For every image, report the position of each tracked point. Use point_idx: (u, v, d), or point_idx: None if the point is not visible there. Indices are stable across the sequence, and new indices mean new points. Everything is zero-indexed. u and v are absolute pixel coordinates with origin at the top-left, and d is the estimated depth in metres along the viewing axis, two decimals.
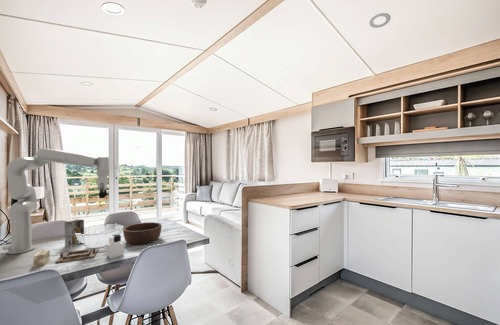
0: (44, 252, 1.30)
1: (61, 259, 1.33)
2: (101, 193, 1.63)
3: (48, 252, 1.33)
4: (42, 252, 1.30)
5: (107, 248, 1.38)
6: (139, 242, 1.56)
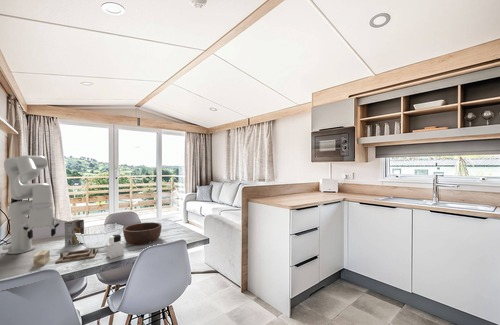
0: (44, 252, 1.30)
1: (61, 259, 1.33)
2: (55, 229, 1.32)
3: (48, 252, 1.33)
4: (42, 252, 1.30)
5: (107, 248, 1.38)
6: (139, 242, 1.56)
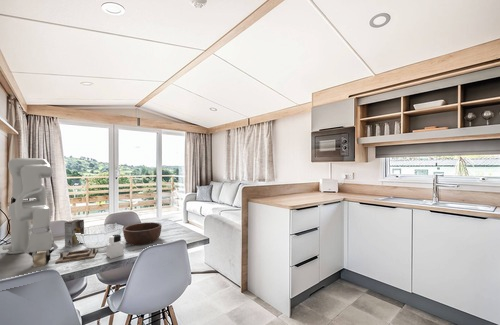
0: (44, 252, 1.30)
1: (61, 259, 1.33)
2: (49, 255, 1.31)
3: None
4: (42, 252, 1.30)
5: (107, 248, 1.38)
6: (139, 242, 1.56)
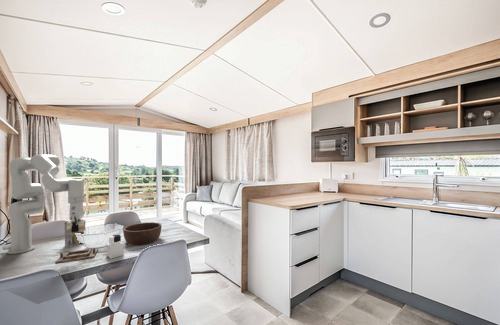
0: None
1: (61, 259, 1.33)
2: None
3: None
4: None
5: (107, 248, 1.38)
6: (139, 242, 1.56)
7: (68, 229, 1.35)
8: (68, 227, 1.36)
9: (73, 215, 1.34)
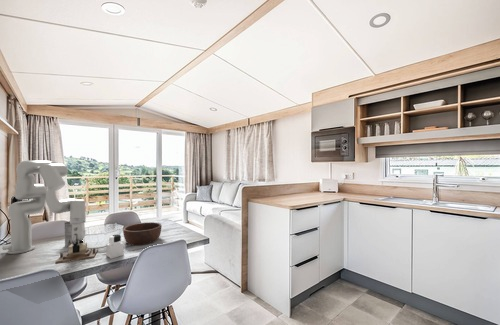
0: None
1: (61, 259, 1.33)
2: None
3: None
4: None
5: (107, 248, 1.38)
6: (139, 242, 1.56)
7: (70, 253, 1.36)
8: (70, 251, 1.36)
9: None
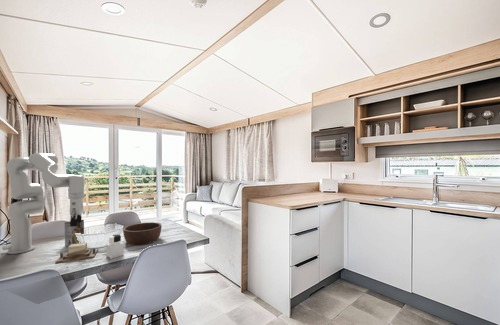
0: (78, 244, 1.41)
1: (61, 259, 1.33)
2: None
3: None
4: (77, 244, 1.39)
5: (107, 248, 1.38)
6: (139, 242, 1.56)
7: (70, 253, 1.36)
8: (70, 251, 1.36)
9: None
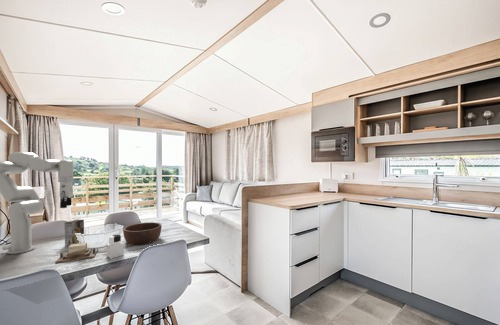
0: (78, 244, 1.41)
1: (61, 259, 1.33)
2: None
3: None
4: (77, 244, 1.39)
5: (107, 248, 1.38)
6: (139, 242, 1.56)
7: (70, 253, 1.36)
8: (70, 251, 1.36)
9: None
